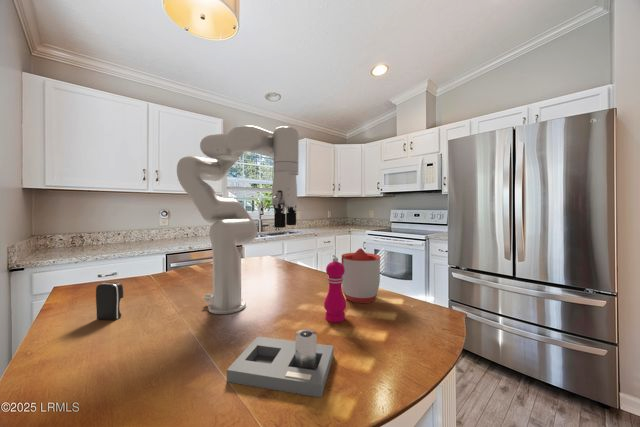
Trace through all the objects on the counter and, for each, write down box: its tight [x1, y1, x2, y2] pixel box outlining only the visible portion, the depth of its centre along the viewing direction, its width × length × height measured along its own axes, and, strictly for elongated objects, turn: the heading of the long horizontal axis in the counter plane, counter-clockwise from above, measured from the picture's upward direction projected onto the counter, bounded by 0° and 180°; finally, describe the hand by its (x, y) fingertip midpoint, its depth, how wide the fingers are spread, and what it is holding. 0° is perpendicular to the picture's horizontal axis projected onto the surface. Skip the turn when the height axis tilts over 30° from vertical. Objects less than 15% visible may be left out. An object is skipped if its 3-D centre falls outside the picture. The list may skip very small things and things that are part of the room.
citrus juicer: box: [341, 248, 382, 304], centre depth 101 cm, size 16×17×20 cm
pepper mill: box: [323, 256, 347, 323], centre depth 83 cm, size 7×7×20 cm
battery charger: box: [95, 281, 124, 321], centre depth 83 cm, size 7×4×11 cm, turn 84°
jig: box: [226, 336, 335, 399], centre depth 57 cm, size 20×14×3 cm
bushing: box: [294, 328, 317, 370], centre depth 56 cm, size 5×5×8 cm
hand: (285, 226), depth 78 cm, fingers open, 9 cm apart
